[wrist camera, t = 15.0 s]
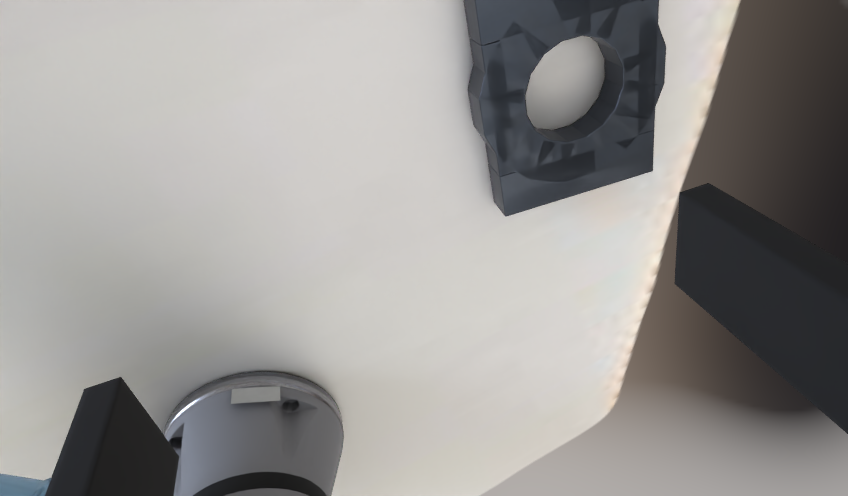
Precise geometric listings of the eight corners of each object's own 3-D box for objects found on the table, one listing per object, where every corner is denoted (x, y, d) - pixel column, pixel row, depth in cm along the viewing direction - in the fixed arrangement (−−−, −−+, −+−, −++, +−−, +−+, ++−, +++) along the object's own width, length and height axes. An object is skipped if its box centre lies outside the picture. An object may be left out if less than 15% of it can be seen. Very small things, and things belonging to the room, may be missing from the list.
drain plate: (642, 156, 44) (660, 168, 42) (486, 204, 43) (497, 219, 41) (647, -69, 35) (671, -67, 33) (450, -16, 34) (462, -11, 32)
